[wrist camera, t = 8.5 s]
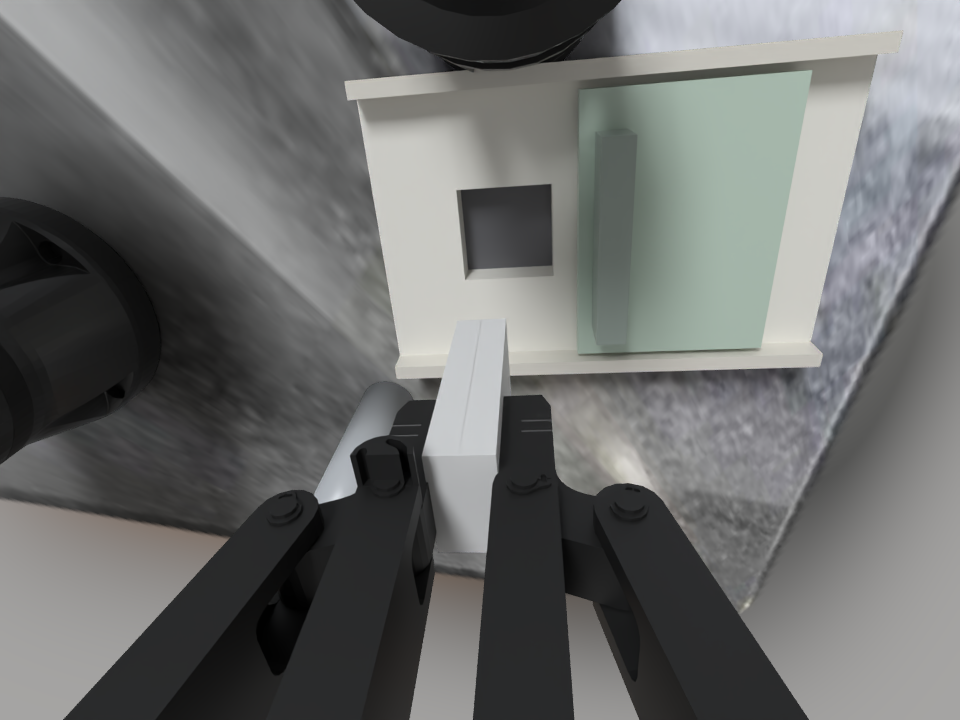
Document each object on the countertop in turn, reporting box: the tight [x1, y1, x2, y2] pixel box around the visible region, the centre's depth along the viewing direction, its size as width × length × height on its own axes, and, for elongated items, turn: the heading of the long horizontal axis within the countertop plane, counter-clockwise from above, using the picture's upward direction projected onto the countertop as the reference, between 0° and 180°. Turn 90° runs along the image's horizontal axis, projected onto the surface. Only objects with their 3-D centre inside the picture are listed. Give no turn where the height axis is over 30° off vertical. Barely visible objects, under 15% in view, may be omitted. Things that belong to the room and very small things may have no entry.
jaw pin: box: [314, 381, 413, 504], centre depth 33 cm, size 4×4×12 cm
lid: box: [577, 70, 812, 354], centre depth 27 cm, size 10×14×4 cm
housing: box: [344, 30, 903, 379], centre depth 29 cm, size 24×16×4 cm, turn 95°
